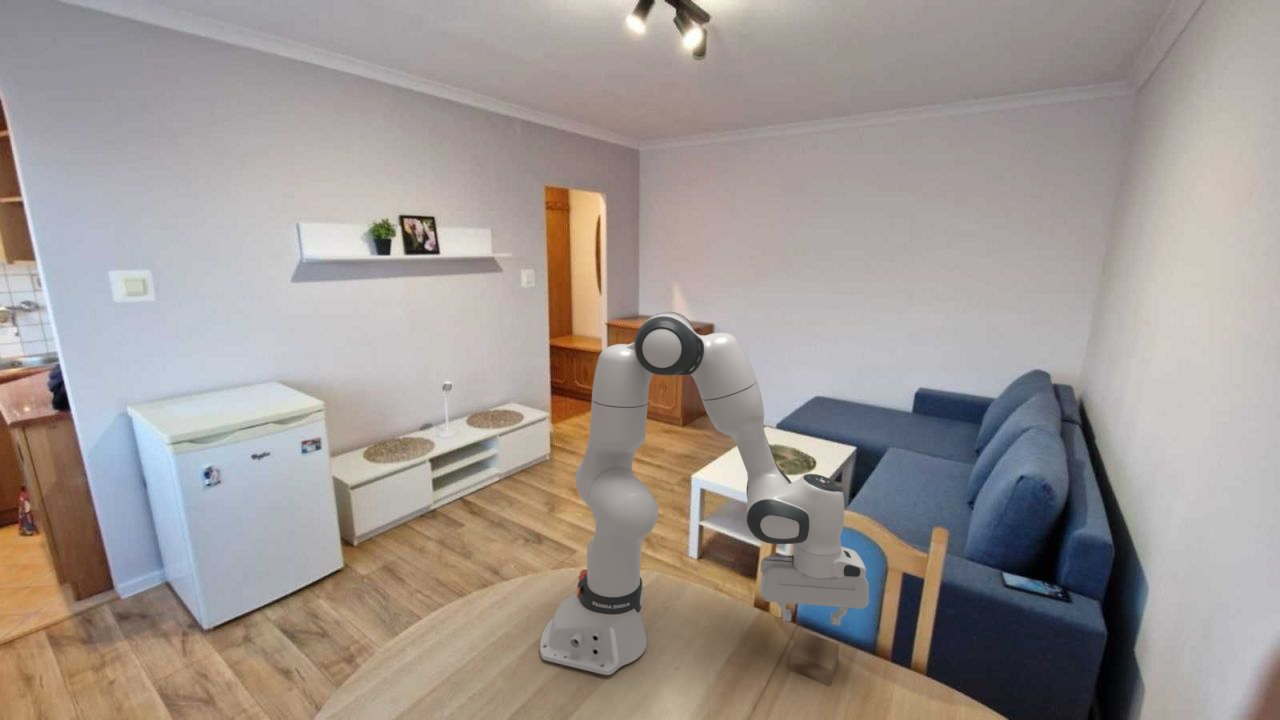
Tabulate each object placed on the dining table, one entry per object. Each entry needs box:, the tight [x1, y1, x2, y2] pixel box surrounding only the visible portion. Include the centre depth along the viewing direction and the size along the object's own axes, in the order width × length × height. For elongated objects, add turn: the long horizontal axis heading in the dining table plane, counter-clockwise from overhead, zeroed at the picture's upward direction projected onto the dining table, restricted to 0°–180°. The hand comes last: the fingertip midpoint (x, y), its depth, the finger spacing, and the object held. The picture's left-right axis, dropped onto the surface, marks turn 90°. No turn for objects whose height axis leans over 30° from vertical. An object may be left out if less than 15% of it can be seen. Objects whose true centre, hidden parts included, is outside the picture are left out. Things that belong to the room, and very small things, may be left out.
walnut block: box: [788, 630, 840, 687], centre depth 106 cm, size 8×8×4 cm
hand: (810, 621), depth 104 cm, fingers open, 8 cm apart
